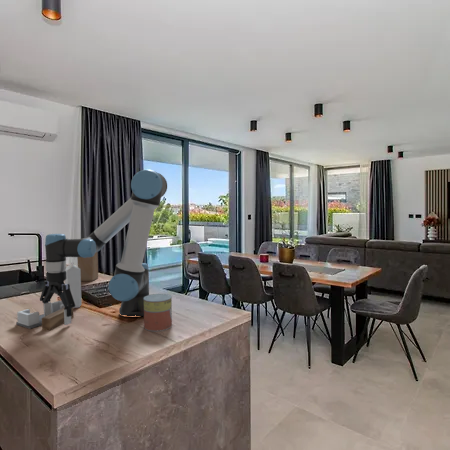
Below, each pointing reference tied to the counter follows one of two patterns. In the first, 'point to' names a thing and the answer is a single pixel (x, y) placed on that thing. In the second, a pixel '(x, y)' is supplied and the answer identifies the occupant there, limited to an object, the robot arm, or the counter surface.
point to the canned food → (157, 312)
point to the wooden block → (88, 267)
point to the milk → (74, 283)
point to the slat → (54, 319)
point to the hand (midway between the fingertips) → (57, 321)
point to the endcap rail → (35, 316)
